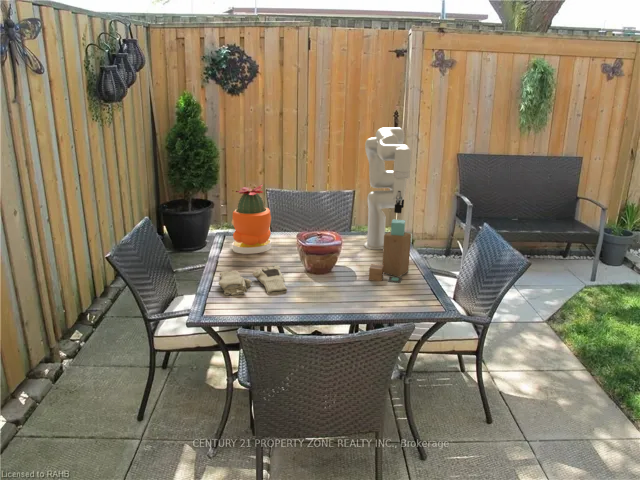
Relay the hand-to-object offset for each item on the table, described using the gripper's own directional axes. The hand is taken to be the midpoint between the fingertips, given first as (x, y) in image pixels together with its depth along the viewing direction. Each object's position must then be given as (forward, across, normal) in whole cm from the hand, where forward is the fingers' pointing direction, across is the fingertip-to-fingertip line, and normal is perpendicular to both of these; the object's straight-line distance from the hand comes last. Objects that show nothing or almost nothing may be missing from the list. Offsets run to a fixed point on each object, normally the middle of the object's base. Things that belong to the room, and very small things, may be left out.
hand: (398, 210), depth 254 cm
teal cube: (+12, 0, 0) cm, 12 cm away
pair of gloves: (+32, +34, -62) cm, 77 cm away
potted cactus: (+32, -11, -78) cm, 85 cm away
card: (+31, +11, +1) cm, 33 cm away
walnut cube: (+32, +11, -8) cm, 34 cm away
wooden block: (+32, +1, 0) cm, 32 cm away
